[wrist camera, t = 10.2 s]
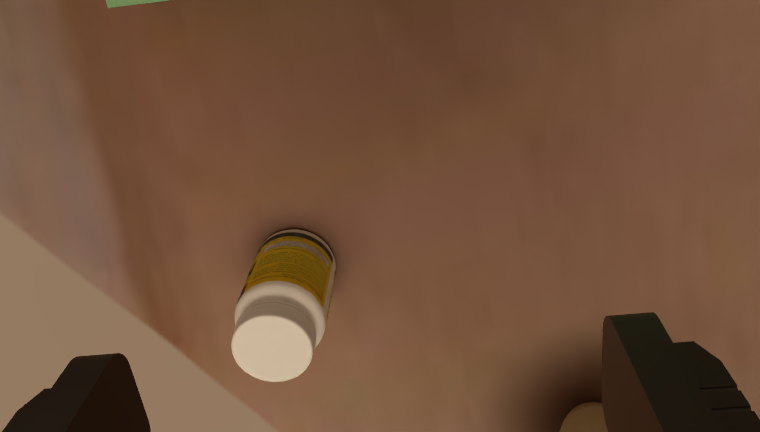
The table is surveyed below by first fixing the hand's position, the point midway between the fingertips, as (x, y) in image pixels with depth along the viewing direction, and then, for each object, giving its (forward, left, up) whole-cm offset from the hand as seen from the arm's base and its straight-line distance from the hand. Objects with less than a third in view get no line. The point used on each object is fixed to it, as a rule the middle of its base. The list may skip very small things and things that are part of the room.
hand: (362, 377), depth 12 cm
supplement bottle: (+7, +12, -26) cm, 30 cm away
